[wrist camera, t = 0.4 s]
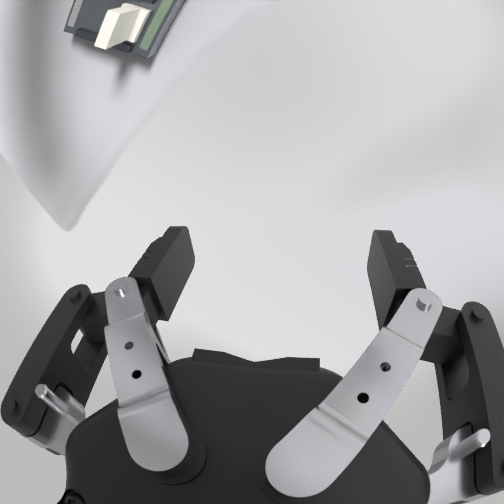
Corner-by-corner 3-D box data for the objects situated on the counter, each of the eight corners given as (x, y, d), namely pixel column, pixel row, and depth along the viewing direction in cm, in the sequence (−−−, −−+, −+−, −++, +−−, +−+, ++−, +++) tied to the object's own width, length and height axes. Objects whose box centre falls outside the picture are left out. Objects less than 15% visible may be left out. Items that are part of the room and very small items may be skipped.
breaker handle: (113, 33, 22) (87, 43, 19) (126, 2, 19) (100, 8, 16) (137, 41, 24) (113, 52, 20) (151, 10, 21) (128, 15, 17)
